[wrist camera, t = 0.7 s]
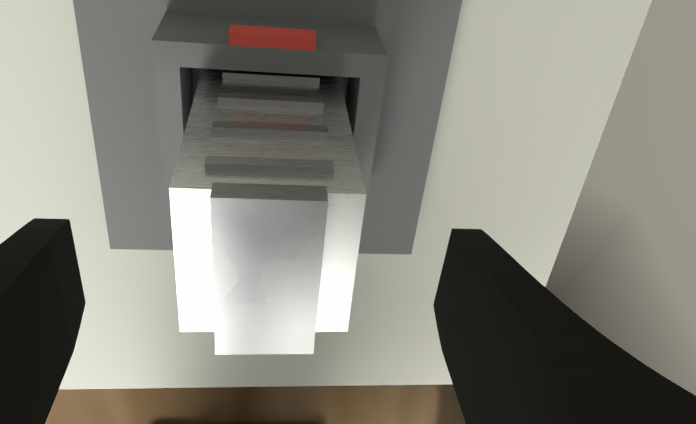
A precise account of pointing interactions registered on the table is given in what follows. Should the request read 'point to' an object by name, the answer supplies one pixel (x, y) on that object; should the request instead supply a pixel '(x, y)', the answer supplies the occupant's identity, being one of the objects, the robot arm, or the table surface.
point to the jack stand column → (266, 211)
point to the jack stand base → (369, 137)
